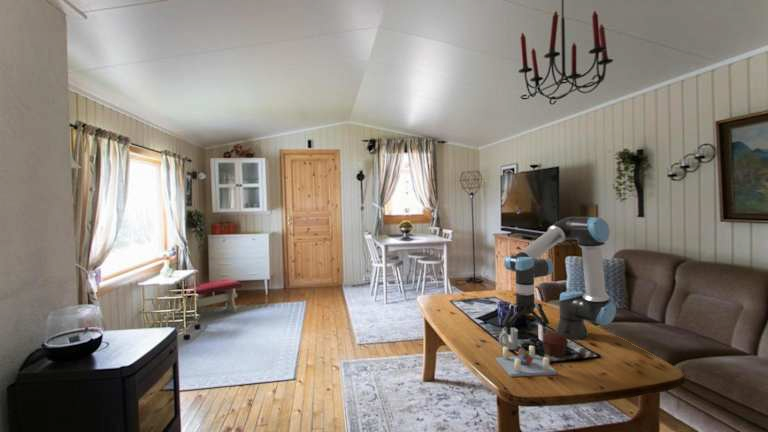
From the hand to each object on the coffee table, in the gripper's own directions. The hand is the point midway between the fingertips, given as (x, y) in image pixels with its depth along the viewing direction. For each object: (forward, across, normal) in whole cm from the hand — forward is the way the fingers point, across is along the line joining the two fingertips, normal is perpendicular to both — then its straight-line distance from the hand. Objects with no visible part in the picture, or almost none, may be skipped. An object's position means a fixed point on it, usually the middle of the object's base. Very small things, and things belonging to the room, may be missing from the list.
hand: (525, 340), depth 158 cm
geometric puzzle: (+10, +1, 0) cm, 11 cm away
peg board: (+12, +1, 0) cm, 12 cm away
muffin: (+12, -19, -12) cm, 26 cm away
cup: (+12, 0, -21) cm, 24 cm away
